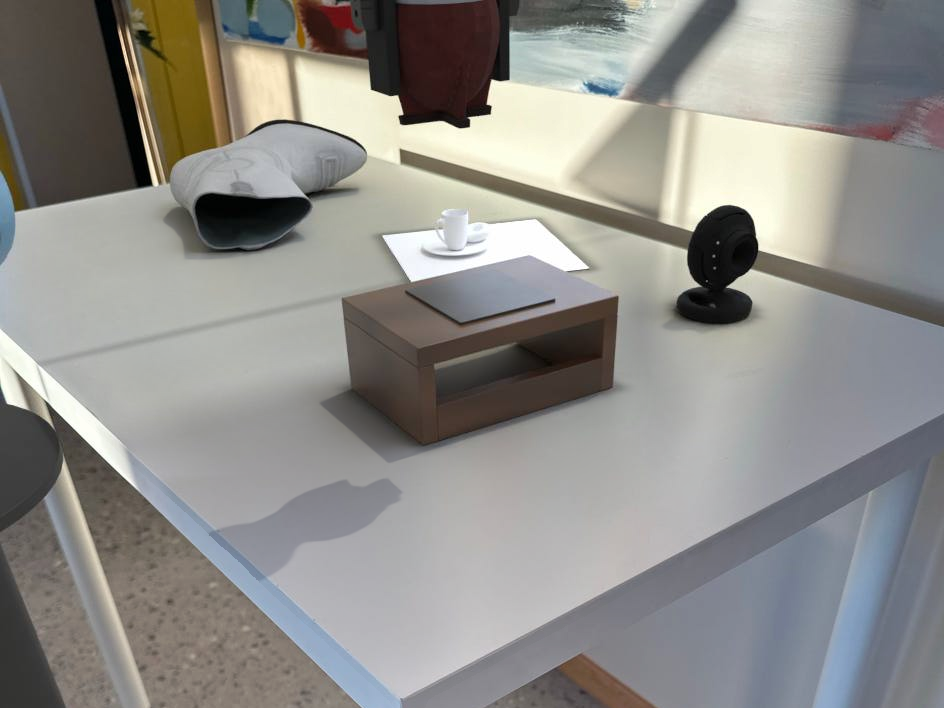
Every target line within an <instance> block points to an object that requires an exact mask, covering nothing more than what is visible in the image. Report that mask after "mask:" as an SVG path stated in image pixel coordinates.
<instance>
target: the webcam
mask: <svg viewBox="0 0 944 708" xmlns="http://www.w3.org/2000/svg"><path fill="white" fill-rule="evenodd" d="M756 231H757V229H756V225H755V221H754V219H753V217H752V215H751V214H750V213H749V212H748V211H747V210H746V209H745V208H742V207H740V206H738V205H733V204H725V205H720V206H717V207H715V208H713V209H712V210H711V211H709V212H708V213H706V214H705V215H704V216H703V217H702V218H701V220H699V222H697V224H696V226H695V228H694V230H693V232H692V234H691V237H690V240H689V242H688V247H687V251H686V253H687V254H686V260H687V261H686V265H687V268H688V271H689V274H690V276H691V278H692V279H693V281H694V282H695V283H696V284H698V285H699V286H697V287H692V288H689V289H686V290H683V292H682V293H680V295H678V297H677V299H676V301H675V302H676V303H675V304H676V309H677V311H678V312H679V313H680V314H681V315H683V316H684V317H686V318H688V319H692V320H695V321H697V322H704V323H715V324H716V323H717V324H718V323H719V324H720V323H721V324H723V323H724V324H725V323H726V324H728V323H735V322H738V321H740V320H743V319H745V318H746V317H748V316H749V315H750V314H751V312H752V310H753V309H752V308H753V300H752V298H751V297H750V296H749V295H748V294H747V293H745V292H743V291H741V290H739V289H735V288H732V287H729V286H730V285H732V284H733V283H734V282H736V280H737V279H739V278H741V277H743V276H744V275H746V274H747V273H748V272H749V271H750V270H751V269H752V268H753V266H754V264H755V262H756V261H757V258H758V254H759V247H760V245H759V241H758V238H757V232H756ZM704 301H709V302H711V303H712V304H713V305H714V307H713V306H712V307H711V306H704V305H700V304H697V302H704Z"/></svg>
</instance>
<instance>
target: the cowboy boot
mask: <svg viewBox="0 0 944 708" xmlns="http://www.w3.org/2000/svg"><path fill="white" fill-rule="evenodd" d="M367 161H368V152H367V150H366V148H365V147H364V146H363V144H361V143H360V142H359V141H357V140H356V139H354V138H352V137H351V136H349V135H346V134H344V133H340V132H338V131H335V130H331V129H329V128H326V127H322V126H319V125H316V124H313V123H309V122H305V121H300V120H293V119H287V118H286V119H283V118H282V119H273V120H268V121H265V122H263V123H261V124H259V125H257V126H255V127H254V128H253V129H252V130H251V131H250V132H248V133H247V134H246V135H245V136H244V137H242V138H240V139H238V140H236V141H233V142H230V143H229V144H226V145H224V146H220V147H216V148H211V149H206V150H202V151H199V152H196V153H193V154H190V155H188V156H185V157H183V158H181V159H180V160H178V161H177V162H176V163H175V164H174V165H173V167H171V171H170V175H169V188H170V192H171V194H172V197H173V198H174V200H175V202H176V203H177V204H178V205H179V206H181V207H182V208H183V209H185V210H186V211H188V212H189V214H190V216H191V218H192V220H193V224H194V227H195V230H196V233H197V235H198V237H199V239H200V240H201V241H202V242H203V244H205V246H207V247H209V248H211V249H214V250H230V249H237V248H239V249H242V250H246V251H254V250H259V249H261V248H263V247H264V246H267V245H269V244H272V243H274V242H276V241H278V240H279V239H281V238H283V237H284V236H285V235H287V234H289V233H290V232H291V231H292V230H294V228H296V227H297V226H298V225H300V223H301V222H303V221H305V219H306V218H308V217H309V215H310V214H311V213H312V211H313V208H314V206H313V202H312V200H310V198H309V197H308V196H307V195H306V194H310V193H314V192H315V193H316V192H319V191H321V190H326V189H327V188H333V187H334V186H336V185H337V184H338V183H339V182H340V181H343V180H345V179H346V178H349V177H351V176H352V175H354V174H356V173H357V172H358V171H359V170H361V169H362V168H363V167H364V165H365V164H366V163H367Z"/></svg>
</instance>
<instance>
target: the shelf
mask: <svg viewBox="0 0 944 708" xmlns="http://www.w3.org/2000/svg"><path fill="white" fill-rule="evenodd" d="M619 298H620V296H619V294H616V293H614V292H612V291H610V290H607V289H605V288H603V287H601V286H599V285H597V284H595V283H592V282H590V281H588V280H585V279H584V278H581V277H579V276H577V275H575V274H572V273H570V272H569V271H564V270H562V269H559V268H557V267H555V266H553V265H551V264H549V263H546V262H544V261H542V260H540V259H538V258H535V257H533V256H531V255H527V256H523V257H518V258H514V259H509V260H505V261H501V262H496V263H492V264H488V265H483V266H479V267H475V268H470V269H466V270H462V271H457V272H453V273H449V274H444V275H440V276H436V277H431V278H427V279H422V280H418V281H414V282H411V281H410V282H406V283H401V284H397V285H392V286H388V287H384V288H379V289H376V290H371V291H366V292H361V293H357V294H353V295H349V296H344V297H341V307H342V315H343V326H344V336H345V343H346V352H347V361H348V371H349V378H350V379H349V380H350V387H351V390H352V391H354V392H356V393H357V394H358V395H359V396H360V397H362V398H363V399H364V400H366V401H367V402H368V403H369V404H370V405H372V406H373V407H374V408H376V409H377V410H378V411H379V412H381V413H382V414H383V415H385V416H386V417H387V418H388V419H390V420H391V421H392V422H394V423H395V424H396V425H397V426H399V427H400V428H401V429H402V430H404V432H406V433H408V434H409V435H410V436H411V437H412V438H413V439H414V440H416V441H417V442H419V444H421V445H422V446H425V445H430V444H433V443H437V442H440V441H442V440H446V439H450V438H452V437H455V436H459V435H462V434H466V433H468V432H471V431H475V430H478V429H482V428H484V427H488V426H491V425H495V424H498V423H501V422H504V421H507V420H510V419H514V418H516V417H520V416H524V415H526V414H530V413H534V412H537V411H540V410H543V409H546V408H549V407H552V406H556V405H560V404H562V403H566V402H569V401H572V400H576V399H578V398H582V397H585V396H588V395H592V394H595V393H598V392H602V391H604V390H607V389H611V388H613V387H614V378H615V377H614V376H615V361H616V347H617V344H616V343H617V335H618V332H617V331H618V317H619V315H618V313H619V301H620V299H619ZM513 343H517V344H518V345H519V346H521V347H523V348H525V349H527V350H528V351H530V352H532V353H533V354H535V355H537V356H539V357H541V358H542V359H544V360H546V361H548V362H549V363H551V364H553V365H549V366H546V367H542V368H538V369H536V370H532V371H528V372H525V373H522V374H521V373H520V374H518V375H515V376H511V377H508V378H504V379H500V380H497V381H493V382H490V383H486V384H483V385H479V386H476V387H473V388H470V389H465V390H461V391H459V392H456V393H452V394H448V395H445V396H442V397H439V398H438V397H437V390H436V371H435V365H436V364H440V363H443V362H447V361H451V360H455V359H458V358H462V357H466V356H469V355H473V354H477V353H480V352H483V351H487V350H491V349H494V348H499V347H502V346H503V347H504V346H506V345H510V344H513Z"/></svg>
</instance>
